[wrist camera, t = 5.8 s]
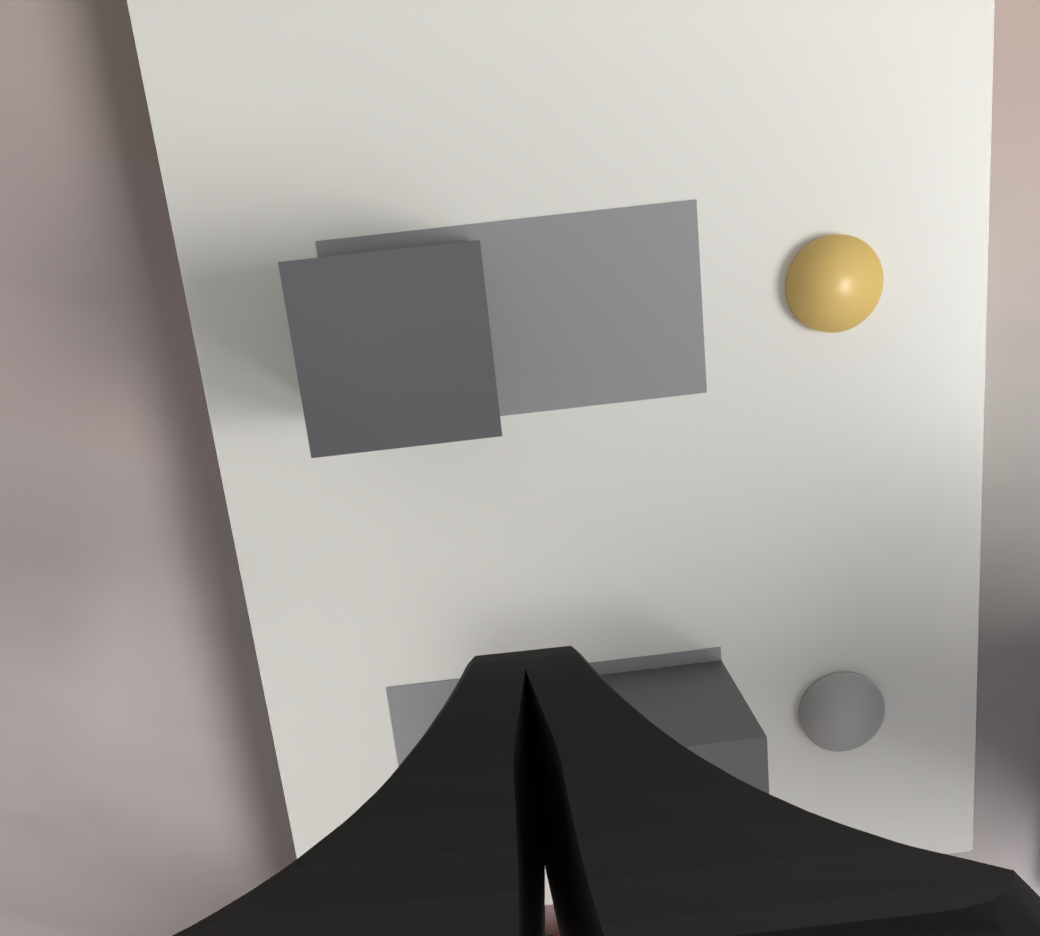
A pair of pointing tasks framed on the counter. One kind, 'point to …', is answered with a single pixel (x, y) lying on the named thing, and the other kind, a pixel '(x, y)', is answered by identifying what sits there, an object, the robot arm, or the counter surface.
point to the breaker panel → (613, 371)
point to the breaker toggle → (392, 348)
